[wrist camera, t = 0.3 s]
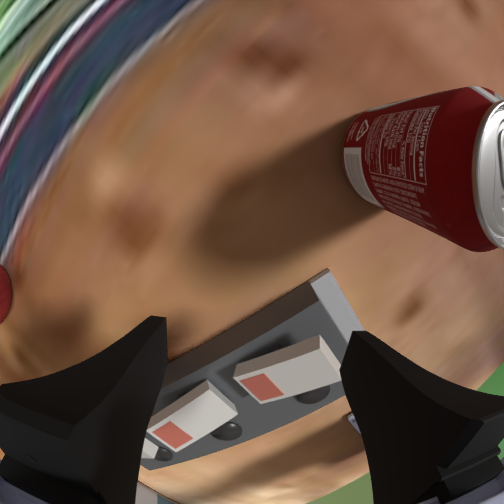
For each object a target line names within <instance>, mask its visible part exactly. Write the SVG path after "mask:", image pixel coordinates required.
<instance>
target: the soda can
mask: <svg viewBox="0 0 504 504" xmlns="http://www.w3.org/2000/svg"><path fill="white" fill-rule="evenodd" d="M342 163H343V168H344V172H345V175H346V177H347V179H348V181H349V183H350V185H351V186H352V188H353V189H354V190H355V192H356V193H357V194H358V195H359V196H360V197H362V198H363V199H364V200H366V201H367V202H369V203H371V204H373V205H376V206H378V207H380V208H382V209H385V210H387V211H389V212H391V213H394V214H396V215H398V216H400V217H402V218H404V219H407V220H409V221H411V222H413V223H415V224H417V225H419V226H421V227H423V228H426V229H428V230H430V231H432V232H434V233H436V234H438V235H440V236H442V237H444V238H446V239H448V240H450V241H451V242H453V243H455V244H457V245H459V246H461V247H463V248H465V249H467V250H470V251H474V252H486V251H491V250H494V249H496V248H501V249H503V250H504V98H502V97H501V96H500V95H498V94H497V93H495V92H494V91H491V90H489V89H487V88H484V87H478V86H470V87H464V88H459V89H453V90H448V91H443V92H438V93H433V94H428V95H424V96H419V97H415V98H410V99H406V100H402V101H398V102H394V103H390V104H386V105H382V106H379V107H375V108H371V109H369V110H366V111H364V112H363V113H361V114H360V115H358V116H357V117H356V118H355V119H354V120H353V121H352V123H351V124H350V126H349V127H348V129H347V131H346V134H345V136H344V139H343V144H342Z"/></svg>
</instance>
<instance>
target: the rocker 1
mask: <svg viewBox="0 0 504 504" xmlns="http://www.w3.org/2000/svg"><path fill="white" fill-rule="evenodd" d="M158 448H159V447H158V446H156V445H155V444H153V443H152V442H151V441H149V440H148V439H146V438H145V440H144V445H143V450H142V456H141V458H151V459H154V458H155V455H156V453H157V450H158Z"/></svg>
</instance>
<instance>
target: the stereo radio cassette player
mask: <svg viewBox="0 0 504 504" xmlns="http://www.w3.org/2000/svg"><path fill="white" fill-rule="evenodd" d="M135 504H178V503H176V502H174V501H172V500H170V499H168V498H166V497H164V496H162V495H161V494H159V493H157V492H155V491H154V490H152V489H150V488H148V487H147V486H145V485H143V484H142V483H140V482H137V491H136V500H135Z"/></svg>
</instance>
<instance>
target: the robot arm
mask: <svg viewBox="0 0 504 504" xmlns="http://www.w3.org/2000/svg"><path fill="white" fill-rule="evenodd" d="M167 361H168V356H167V328H166V317H158V316H149V317H148V318H147V319H145V320H144V321H143V322H142V323H140V324H139V325H138V326H137V327H135V328H134V329H133V330H131V331H130V332H129V333H128V334H126V335H125V336H124V337H122V338H121V339H120V340H118V341H117V342H115V343H114V344H112V345H111V346H109V347H108V348H106V349H105V350H103V351H101V352H100V353H98V354H96V355H95V356H93V357H91V358H89V359H87V360H85V361H83V362H81V363H79V364H77V365H74V366H72V367H69V368H67V369H64V370H62V371H59V372H56V373H53V374H50V375H47V376H43V377H40V378H36V379H31V380H27V381H21V382H14V383H8V384H2V385H1V386H0V448H1V449H2V451H3V452H4V453H5V455H4V457H3V459H2V461H1V460H0V504H135V500H136V491H137V482H138V475H139V468H140V462H141V456H142V450H143V445H144V440H145V435H146V431H147V428H148V424H149V421H150V418H151V416H152V413H153V410H154V407H155V404H156V401H157V398H158V395H159V392H160V390H161V387H162V384H163V380H164V376H165V371H166V366H167ZM339 371H340V376H341V381H342V385H343V389H344V392H345V395H346V397H347V400H348V402H349V405H350V407H351V410H352V412H353V413H351V414H350V415H348V417H347V418H348V421H349V422H350V423H351V424H352V425H353V426H354V428H355V429H356V430H357V431H358V432H359V433H360V435H361V436H362V439H363V442H364V446H365V450H366V455H367V459H368V464H369V470H370V475H371V482H372V490H373V500H374V504H504V457H503V458H502V459H501V460H499V458H498V456H497V455H499V454H500V452H501V450H500V448H499V447H498V444H499V443H500V442H501V441H502V439H503V438H504V396H498V395H492V394H487V393H483V392H479V391H475V390H472V389H469V388H465V387H462V386H460V385H457V384H455V383H452V382H450V381H447V380H445V379H443V378H441V377H439V376H437V375H435V374H433V373H431V372H429V371H427V370H425V369H423V368H422V367H420V366H419V365H417V364H415V363H414V362H412V361H410V360H409V359H407V358H406V357H404V356H403V355H401V354H400V353H398V352H397V351H396V350H394V349H393V348H391V347H390V346H388V345H387V344H386V343H384V342H383V341H381V340H380V339H378V338H377V337H375V336H374V335H372V334H371V333H369V332H367V331H352V333H351V337H350V340H349V343H348V346H347V349H346V352H345V355H344V358H343V361H342V364H341V366H340V369H339Z"/></svg>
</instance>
